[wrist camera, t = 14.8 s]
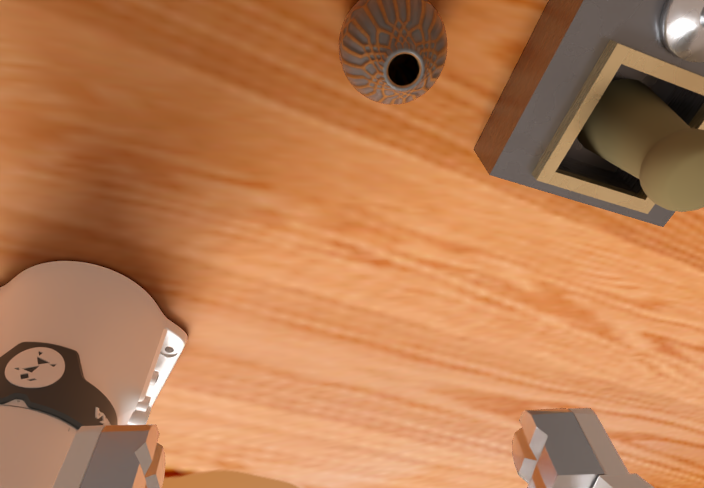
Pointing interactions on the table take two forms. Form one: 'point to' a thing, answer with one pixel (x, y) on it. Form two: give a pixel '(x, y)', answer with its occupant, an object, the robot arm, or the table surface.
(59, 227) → the table surface
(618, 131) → the cork
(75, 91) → the table surface
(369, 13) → the vase
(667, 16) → the grey rectangular box
